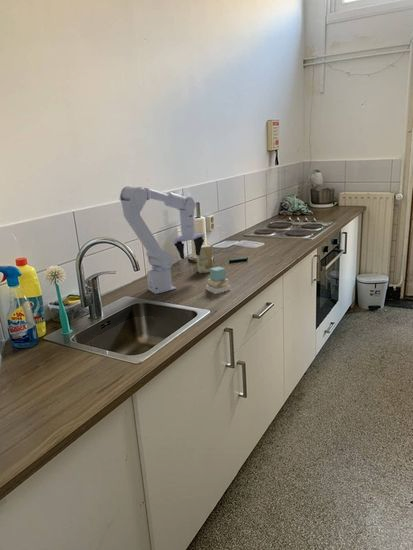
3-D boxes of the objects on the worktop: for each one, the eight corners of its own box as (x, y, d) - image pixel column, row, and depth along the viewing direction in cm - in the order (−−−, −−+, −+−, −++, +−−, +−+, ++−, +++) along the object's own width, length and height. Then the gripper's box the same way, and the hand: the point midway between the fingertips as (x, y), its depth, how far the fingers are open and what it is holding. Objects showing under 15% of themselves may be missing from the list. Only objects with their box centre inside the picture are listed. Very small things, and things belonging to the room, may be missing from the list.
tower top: (216, 288, 163) (215, 282, 162) (208, 285, 168) (207, 279, 167) (228, 285, 166) (228, 279, 165) (220, 282, 171) (220, 276, 170)
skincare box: (199, 273, 190) (197, 247, 187) (197, 271, 194) (195, 245, 191) (213, 271, 192) (211, 245, 188) (210, 269, 196) (209, 244, 192)
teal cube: (216, 281, 163) (215, 270, 162) (210, 279, 167) (209, 268, 166) (225, 279, 165) (225, 268, 164) (219, 276, 169) (219, 266, 168)
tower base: (215, 295, 163) (215, 289, 162) (206, 291, 169) (206, 285, 168) (230, 291, 166) (230, 285, 165) (221, 287, 172) (220, 281, 171)
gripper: (176, 229, 168) (179, 261, 172) (207, 224, 175) (209, 255, 179) (168, 227, 174) (171, 258, 178) (199, 222, 181) (201, 252, 185)
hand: (190, 256), depth 179 cm, fingers open, 7 cm apart
